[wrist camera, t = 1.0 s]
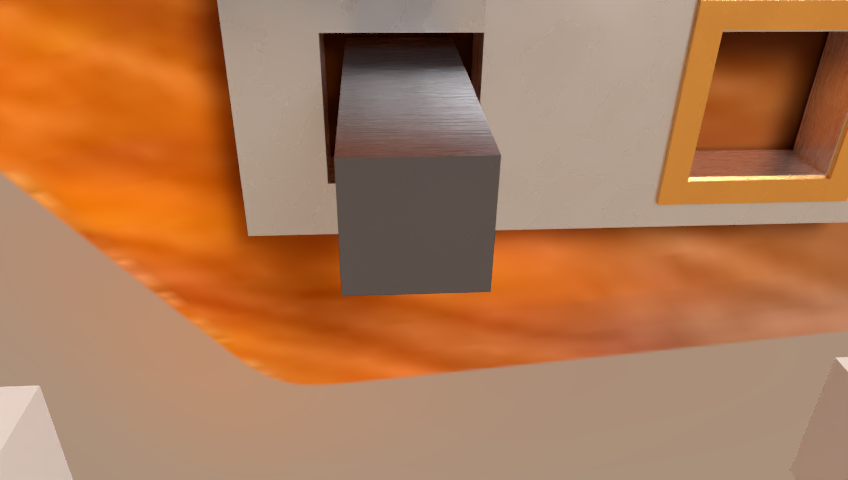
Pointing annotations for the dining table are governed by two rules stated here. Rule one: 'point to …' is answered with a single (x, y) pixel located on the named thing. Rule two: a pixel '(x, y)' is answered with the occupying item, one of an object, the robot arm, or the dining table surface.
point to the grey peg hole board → (550, 109)
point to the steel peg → (413, 171)
